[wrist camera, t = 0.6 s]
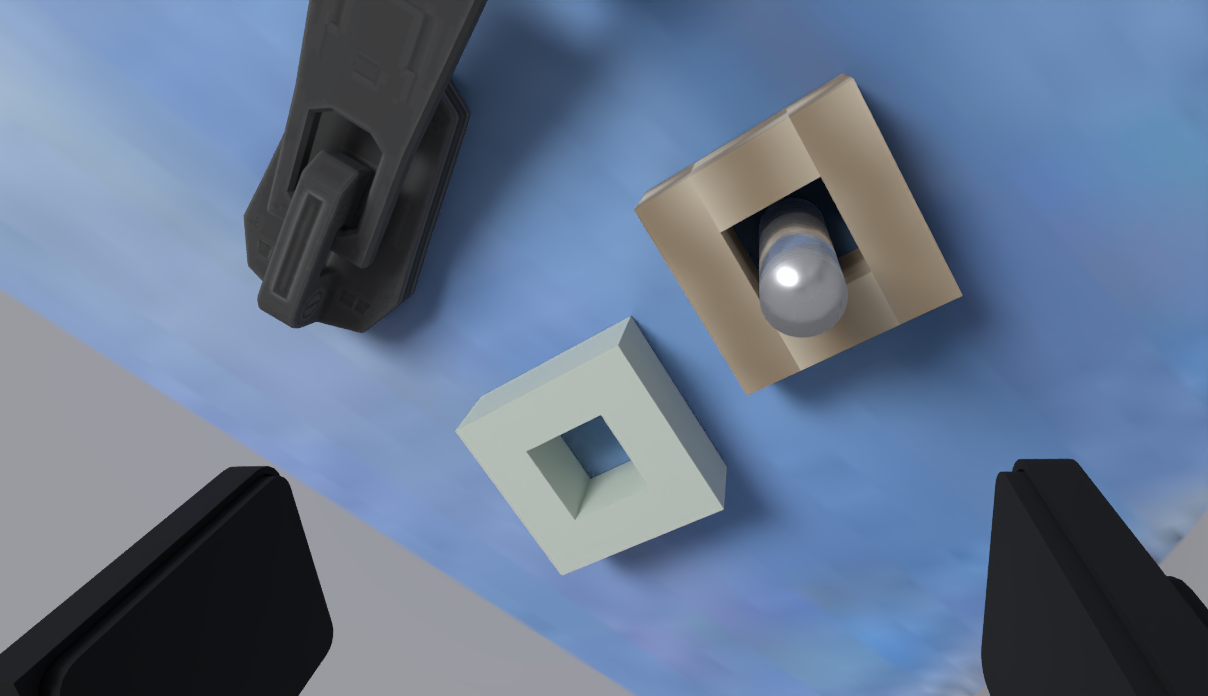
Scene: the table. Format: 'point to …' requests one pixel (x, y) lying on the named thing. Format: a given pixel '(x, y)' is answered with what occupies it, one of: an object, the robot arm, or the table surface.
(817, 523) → the table surface
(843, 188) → the birch mount block
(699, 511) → the sage socket block
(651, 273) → the table surface
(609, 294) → the table surface
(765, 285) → the metal pin
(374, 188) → the zipper pull
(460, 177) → the table surface
